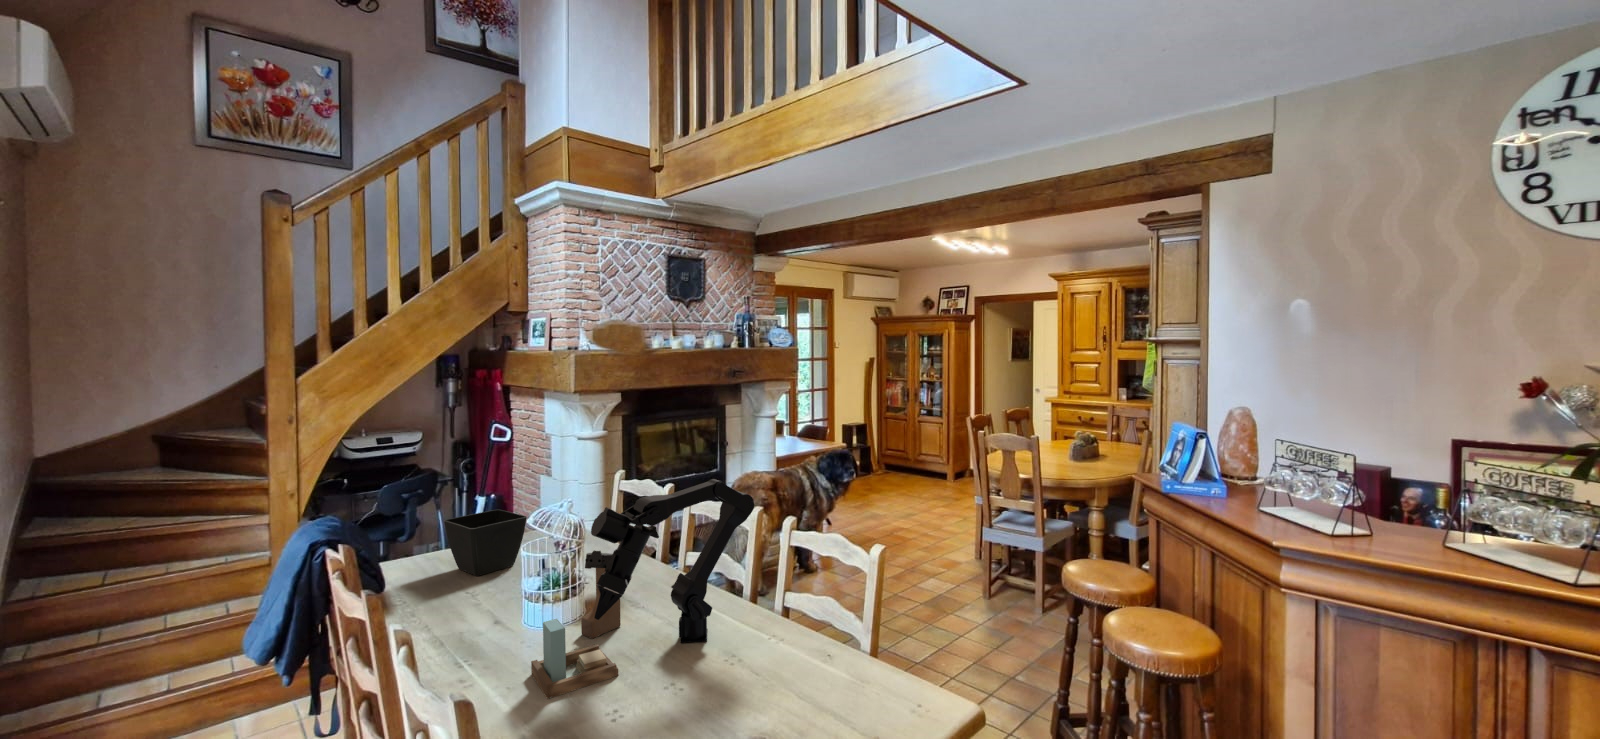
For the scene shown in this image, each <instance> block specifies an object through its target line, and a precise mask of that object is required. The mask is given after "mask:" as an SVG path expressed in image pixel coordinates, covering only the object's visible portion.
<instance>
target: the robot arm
mask: <svg viewBox="0 0 1600 739" xmlns="http://www.w3.org/2000/svg"><path fill="white" fill-rule="evenodd" d="M712 499H716V500H718V501H719V502H721V505H720V508H719V518H718V521H717V522H716V525H715V526H714V527H713V530H712V532H711V534H710V535H709V536H708V539H707V541H706V543H705V544H704V546H703V548H702V550H701V552H700V554H699V555H698V557H697V559H696V561H695V562H694V564H693V566H692V567H691V569H690V570H689V571H687V572H686V573H685V574H683V573H682V572H679V574H678V575H677V578H676V580H675V582H674V583H673V585H671V587H670V588H671V592H670V598H671V602H672V603H673V604H674V605H675V606H676V607H677V609H678V610H679V611H680V612H681V615H680V617H679V619H678V637H679V638H680V643H681V644H686V643H687V644H688V643H701V642H703V643H705V642H707V641H708V617H710V616H711V614H712V610H713V606H711V605H710V604H709V603H707V602H706V601H705V599H706V595H707V592H708V591H707V590H708V582H709V578H710V576H711V574H712V572H713V571H714V568H715V567H716V565H717V563H718V562H719V560H720V557H721V556H722V554H723V552H724V550H725V548H726V547H727V545H728V543H729V541H730V539H731V538H732V535H733V534H734V532H735V531H736V529H737V528H738V527H739V526H740V525H742V524H743V523H745V522H746V521H747V520H748V518H749V517H750V516H751V514H752V512H754V509H755V506H756V505H755V501H754V498H753V496H751V495H750V494H748V493H745V492H742V491H739V490H736V489H734V488H732V487H730V486H728V485H727V484H725V483H724V481H722V480H719V479H718V480H717V479H715V478H712V479H709V480H708V481H706V482H702V483H699V484H696V485H693V486H690V487H687V488H684V489H682V490H678V491H675V492H672V493H669V494H656V495H655V494H654V495H647V496H642V497H640V498H638V499H637V500H636V502H635V504H633V505H632V506H630V507H628V508H627V509H626V510H625V509H624V511H622V512H620V513H619V512H618V511H615V510H613V509H611V508H610V507H605V508H604V510H603V511H602V512H600V513H599V514H598V516H597V517H596V518H594V520H593V522H592V525H591V529H590V534H591V536H592V537H596V538H598V539H601V540H603V541H605V542H608V543H612V544H617V543H618V542H619V544H618V546H617V548H616V549H614V550H613V552H612V553H606V552H604V553H603V552H602V551H601V550H593V551H592V552H587V553H586V556H585V560H584V562H585V563H584V569H586V570H587V569H594V568H595V569H596V568H605V570H604V571H606V573H603V574H602V575H601V577H600V579H599V581H598V583H597V587H598V589H599V591H600V598H599V602H598V605H597V609H596V613H595V617H594V618H595V619H597V620H599V619H600V618H601V617H602V616H603V615H604V614H605V613H606V612H607V611H608V610H609V609H610V608H611V607H612V606H613V605H614V604H615V603H616V602H617V601H618V600H619V599H620V600H621V598H622V597H623V595H625V592H626V589H627V588H628V586H629V585H630V582H631V580H632V578H633V574H634V571H635V569H636V567H637V564H638V563H639V561H640V558H641V557H642V555H643V554H642V553H643V551H644V550H645V548H646V546H647V543H648V541H649V539H650V537H651V538H654V539H659V538H660V536H659V533H658V530H657V526H656V525H658V524H660V523H662V522H664V521H665V520H667V519H669V518H670V517H671V516H672V515H673V514H675V513H676V512H678V511H680V510H681V511H682V510H684V509H686V508H689V507H692V506H695V505H698V504H701V503H703V502H706V501H709V500H712ZM646 525H648V526H646Z"/></svg>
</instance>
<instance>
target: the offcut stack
mask: <svg viewBox="0 0 1600 739" xmlns="http://www.w3.org/2000/svg"><path fill="white" fill-rule="evenodd" d="M602 652H603V650H602V649H601V648H600V649H599V650H595V651H592V652H588V653H584V654H581V655H579V660H577V663H576V669H577V670H578V672H579V674H581V673H584V672H587V671H590V670H594V669H597V668H600V667H603V666H606V657H605V655H606V654H605V653H604V652H603V653H604V654H605V655H604V654H603V653H602Z"/></svg>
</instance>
